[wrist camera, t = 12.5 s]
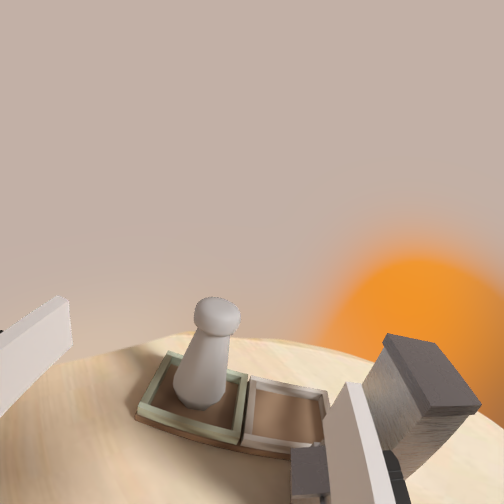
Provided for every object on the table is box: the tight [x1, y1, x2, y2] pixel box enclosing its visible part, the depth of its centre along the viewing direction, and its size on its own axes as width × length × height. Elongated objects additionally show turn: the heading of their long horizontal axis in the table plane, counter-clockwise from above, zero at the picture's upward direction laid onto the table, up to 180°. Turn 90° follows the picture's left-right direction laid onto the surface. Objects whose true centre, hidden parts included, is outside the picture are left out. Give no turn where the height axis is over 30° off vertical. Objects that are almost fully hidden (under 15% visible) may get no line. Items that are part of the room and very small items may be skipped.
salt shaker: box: [173, 297, 241, 411], centre depth 27 cm, size 6×6×13 cm
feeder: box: [290, 333, 482, 504], centre depth 16 cm, size 8×8×19 cm
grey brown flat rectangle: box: [135, 351, 331, 460], centre depth 29 cm, size 22×11×2 cm, turn 85°
